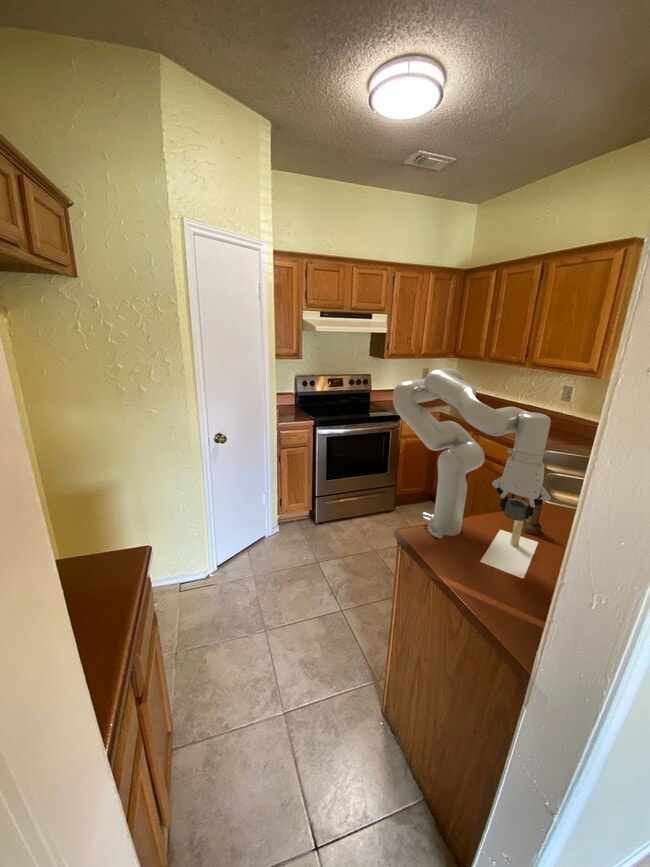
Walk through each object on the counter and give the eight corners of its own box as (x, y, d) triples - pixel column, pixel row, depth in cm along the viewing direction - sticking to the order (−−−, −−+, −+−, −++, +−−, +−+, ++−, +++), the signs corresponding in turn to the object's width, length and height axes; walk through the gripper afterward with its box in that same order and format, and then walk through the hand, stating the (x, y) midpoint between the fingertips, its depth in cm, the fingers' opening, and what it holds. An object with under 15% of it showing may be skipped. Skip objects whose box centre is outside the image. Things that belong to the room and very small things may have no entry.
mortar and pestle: (521, 532, 129) (531, 486, 124) (518, 523, 135) (527, 479, 130) (542, 536, 128) (553, 489, 122) (538, 526, 134) (548, 482, 128)
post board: (479, 565, 111) (485, 532, 107) (499, 533, 129) (505, 504, 125) (522, 583, 104) (530, 548, 100) (537, 546, 122) (544, 515, 118)
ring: (501, 515, 107) (503, 503, 106) (506, 508, 112) (509, 496, 110) (523, 523, 103) (526, 510, 102) (528, 515, 108) (530, 503, 107)
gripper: (491, 452, 104) (481, 508, 110) (560, 468, 94) (546, 529, 99) (498, 446, 110) (488, 499, 115) (564, 460, 100) (550, 518, 105)
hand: (515, 512), depth 107 cm, fingers closed on ring, 6 cm apart
